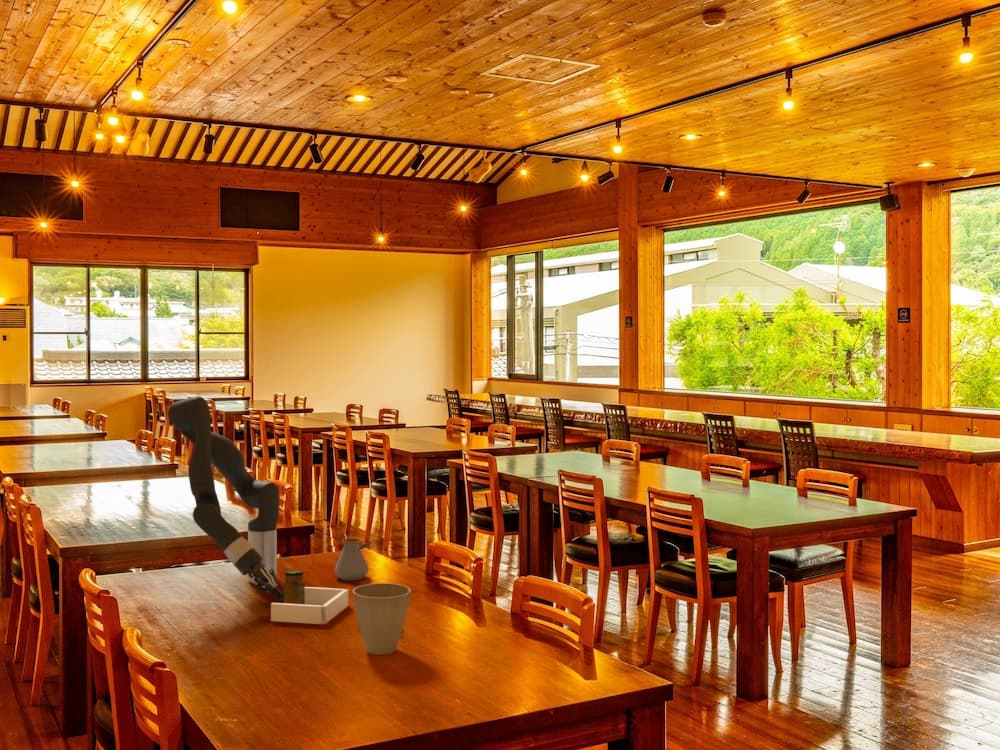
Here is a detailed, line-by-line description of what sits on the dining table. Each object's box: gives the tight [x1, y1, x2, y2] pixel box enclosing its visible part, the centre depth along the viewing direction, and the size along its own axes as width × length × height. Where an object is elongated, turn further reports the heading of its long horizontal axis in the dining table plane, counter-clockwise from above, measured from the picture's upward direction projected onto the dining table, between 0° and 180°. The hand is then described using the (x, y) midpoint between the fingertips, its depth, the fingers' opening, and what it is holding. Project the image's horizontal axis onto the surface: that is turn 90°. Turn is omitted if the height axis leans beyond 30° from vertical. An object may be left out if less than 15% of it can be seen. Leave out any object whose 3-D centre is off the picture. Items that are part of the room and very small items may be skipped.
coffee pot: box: [334, 538, 374, 582], centre depth 334 cm, size 21×12×15 cm, turn 31°
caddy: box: [270, 586, 350, 625], centre depth 295 cm, size 20×16×5 cm
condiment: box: [283, 569, 306, 605], centre depth 295 cm, size 7×8×12 cm
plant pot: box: [352, 582, 411, 656], centre depth 260 cm, size 15×15×16 cm
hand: (281, 598), depth 296 cm, fingers closed
